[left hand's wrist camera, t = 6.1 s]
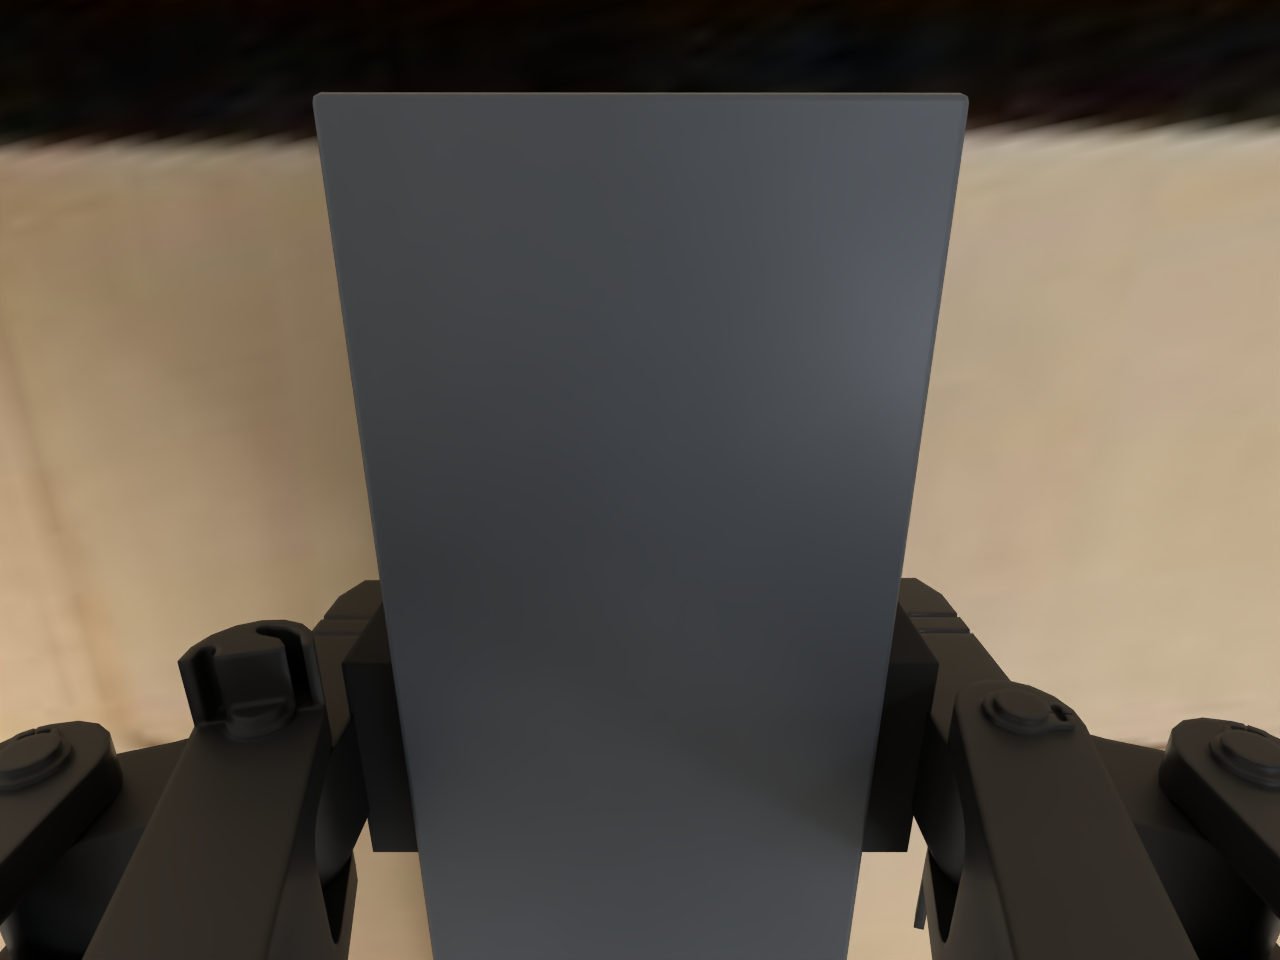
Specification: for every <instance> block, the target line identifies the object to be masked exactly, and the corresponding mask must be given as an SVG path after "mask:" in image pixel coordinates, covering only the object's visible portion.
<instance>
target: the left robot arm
mask: <svg viewBox="0 0 1280 960" xmlns="http://www.w3.org/2000/svg"><path fill="white" fill-rule="evenodd" d="M178 665H179V669H180V673H181V677H182V681H183V684H184V688H185V692H186V696H187V699H188V703H189V707H190V711H191V715H192V718H193V722H194V726H195V727H194V729H193V731H192V733H191V735H190V737H189V738H188V739H184V740H180V741H177V742H172V743H168V744H163V745H158V746H153V747H148V748H143V749H139V750H134V751H129V752H124V753H119V754H116V751H115V748H114V745H113V742H112V738H111V735H110V732H108V731H107V730H106V729H105V728H103V727H102V726H101V725H100V724H97V723H90V722H83V721H74V722H65V723H57V724H50V725H46V726H41V727H38V728H37V729H31V730H28V731H25V732H22V733H19V734H17V735H16V736H14V737H13V738H10V739H8V740H6V741H4V742H2V743H0V932H1V935H2V937H3V939H4V942H5V944H6V946H5V947H4V948H3V949H2V951H1V952H0V960H348V954H349V946H350V938H351V930H352V922H353V914H354V906H355V898H356V890H357V882H358V879H357V872H356V864H355V859H354V853H353V848H354V846H355V844H356V842H357V839H358V837H359V835H360V833H361V831H362V828H363V826H364V824H365V822H366V820H367V818H368V824H369V830H370V836H371V841H372V847H373V852H418V846H417V839H416V831H415V824H414V817H413V810H412V803H411V796H410V789H409V782H408V775H407V768H406V761H405V754H404V747H403V739H402V732H401V725H400V718H399V711H398V704H397V697H396V690H395V683H394V676H393V669H392V662H391V655H390V647H389V640H388V633H387V626H386V619H385V612H384V605H383V598H382V591H381V584H380V580H365V581H363V582H362V583H360V584H359V585H357V586H355V587H354V588H352V589H351V590H349V591H348V592H346V593H344V594H343V595H341V596H340V597H339V598H338V599H337V600H336V601H335V603H334V604H333V605H332V606H331V608H330V609H329V610H328V611H327V613H326V614H325V615H324V620H320V622H319V623H318V624H317V625H316V627H315V628H314V629H313V630H312V631H311V630H310V629H308V628H307V627H306V626H304V625H303V624H301V623H297V622H292V621H288V620H261V621H256V622H252V623H247V624H242V625H237V626H234V627H231V628H229V629H226V630H223V631H221V632H218V633H215V634H213V635H211V636H209V637H207V638H206V639H204V640H202V641H201V642H199V643H197V644H196V645H194V646H192V647H191V648H190V649H189V650H188V651H187V652H186V653H185V654H184V655H183V656H182V657H181V658H180V659H179V661H178ZM913 815H914V817H915V819H916V821H917V824H918V826H919V828H920V830H921V832H922V835H923V837H924V839H925V841H926V843H927V846H928V848H927V853H926V859H925V864H924V870H923V875H922V881H921V886H920V891H919V897H918V902H917V908H916V914H915V921H914V928H918V929H923V930H924V925H925V920H926V915H927V920H928V928H929V936H930V944H931V952H932V960H1280V947H1279V946H1278V944H1277V943H1276V941H1277V939H1278V936H1279V934H1280V739H1279V738H1276V737H1274V736H1272V735H1270V734H1268V733H1267V732H1265V731H1263V730H1261V729H1258V728H1255V727H1252V726H1249V725H1248V726H1245V725H1244V724H1242V723H1237V722H1233V721H1226V720H1218V719H1210V718H1197V719H1190V720H1183V721H1182V722H1180V723H1179V724H1178V725H1177V726H1175V727H1174V728H1173V729H1172V731H1171V734H1170V737H1169V740H1168V744H1167V747H1166V750H1165V751H1163V750H1158V749H1153V748H1148V747H1143V746H1138V745H1133V744H1128V743H1124V742H1119V741H1114V740H1109V739H1105V738H1101V737H1097V736H1093V735H1090V734H1089V732H1088V730H1087V727H1086V725H1085V724H1084V723H1083V722H1082V720H1081V719H1080V718H1079V717H1078V715H1077V714H1076V713H1075V711H1074V710H1073V709H1071V708H1070V707H1068V706H1067V705H1066V704H1064V703H1063V702H1061V701H1060V700H1058V699H1057V698H1056V697H1054V696H1052V695H1050V694H1048V693H1045V692H1043V691H1041V690H1039V689H1036V688H1034V687H1032V686H1029V685H1024V684H1020V683H1016V682H1012V681H1010V679H1009V678H1008V677H1007V676H1006V674H1005V673H1004V672H1003V671H1002V669H1001V668H1000V667H999V666H998V664H997V663H996V662H995V661H994V659H993V658H992V657H991V656H990V654H989V653H988V652H987V651H986V649H985V648H984V647H983V646H982V644H981V643H980V642H979V641H978V639H977V638H976V637H975V636H974V634H973V633H970V629H969V628H968V627H967V625H966V624H965V623H964V622H963V620H962V619H961V618H960V617H957V613H956V612H955V610H954V609H953V608H952V607H951V605H950V604H949V603H948V602H947V600H946V599H945V598H944V597H943V595H942V594H940V593H939V592H937V591H935V590H934V589H932V588H931V587H929V586H927V585H926V584H924V583H923V582H921V581H919V580H918V579H916V578H901V582H900V589H899V596H898V603H897V610H896V617H895V624H894V631H893V638H892V645H891V652H890V659H889V666H888V673H887V680H886V687H885V694H884V701H883V708H882V715H881V722H880V729H879V736H878V743H877V750H876V757H875V764H874V771H873V778H872V785H871V792H870V799H869V806H868V813H867V820H866V827H865V834H864V841H863V848H862V852H907V850H908V844H909V838H910V832H911V827H912V821H913Z"/></svg>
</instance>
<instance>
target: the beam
mask: <svg viewBox="0 0 1280 960" xmlns="http://www.w3.org/2000/svg"><path fill="white" fill-rule="evenodd" d="M968 106H969V101H968V97H967V96H965V95H963V94H961V93H398V92H321V93H319V94H317V95H315V96H313V110H314V117H315V124H316V131H317V138H318V145H319V152H320V159H321V166H322V173H323V180H324V187H325V194H326V202H327V209H328V216H329V223H330V230H331V237H332V244H333V251H334V258H335V265H336V272H337V279H338V286H339V294H340V301H341V308H342V315H343V322H344V329H345V336H346V343H347V350H348V357H349V364H350V371H351V378H352V386H353V393H354V400H355V407H356V414H357V421H358V428H359V435H360V442H361V449H362V456H363V463H364V471H365V478H366V485H367V492H368V499H369V506H370V513H371V520H372V527H373V534H374V541H375V548H376V555H377V563H378V570H379V577H380V584H381V591H382V598H383V605H384V612H385V619H386V626H387V633H388V640H389V647H390V655H391V662H392V669H393V676H394V683H395V690H396V697H397V704H398V711H399V718H400V725H401V732H402V739H403V747H404V754H405V761H406V768H407V775H408V782H409V789H410V796H411V803H412V810H413V817H414V824H415V831H416V839H417V846H418V853H419V860H420V867H421V874H422V881H423V888H424V895H425V902H426V909H427V916H428V923H429V931H430V938H431V945H432V952H433V959H434V960H847V953H848V946H849V939H850V932H851V925H852V918H853V911H854V904H855V897H856V890H857V883H858V876H859V869H860V862H861V855H862V848H863V841H864V834H865V827H866V820H867V813H868V806H869V799H870V792H871V785H872V778H873V771H874V764H875V757H876V750H877V743H878V736H879V729H880V722H881V715H882V708H883V701H884V694H885V687H886V680H887V673H888V666H889V659H890V652H891V645H892V638H893V631H894V624H895V617H896V610H897V603H898V596H899V589H900V582H901V575H902V568H903V561H904V554H905V547H906V540H907V533H908V526H909V519H910V512H911V505H912V498H913V491H914V484H915V477H916V470H917V463H918V456H919V449H920V442H921V435H922V428H923V421H924V414H925V407H926V400H927V393H928V386H929V379H930V372H931V365H932V358H933V351H934V344H935V337H936V330H937V323H938V316H939V309H940V302H941V295H942V288H943V281H944V274H945V267H946V260H947V253H948V246H949V239H950V232H951V225H952V218H953V211H954V204H955V197H956V190H957V183H958V176H959V169H960V162H961V155H962V148H963V141H964V134H965V127H966V120H967V113H968Z"/></svg>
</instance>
